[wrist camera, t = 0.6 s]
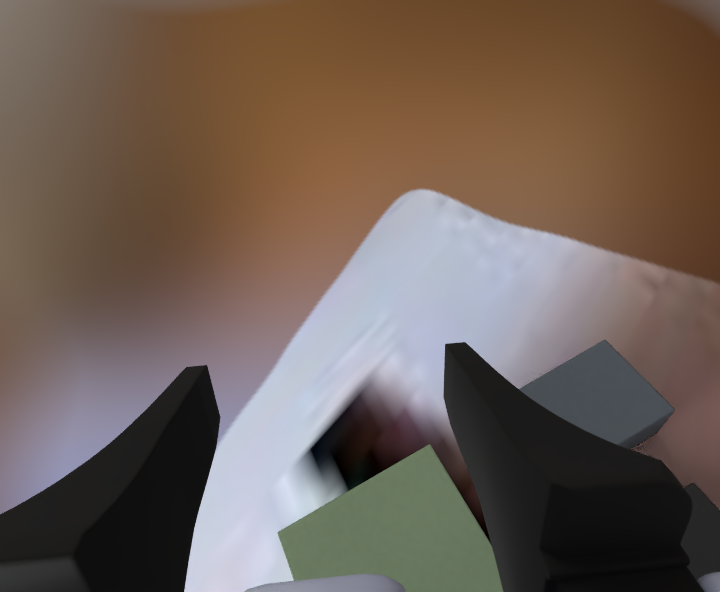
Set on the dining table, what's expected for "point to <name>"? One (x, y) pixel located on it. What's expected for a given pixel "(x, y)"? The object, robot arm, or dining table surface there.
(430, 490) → the base pad
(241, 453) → the dining table surface
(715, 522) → the black rectangular block
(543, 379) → the grey block
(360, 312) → the dining table surface
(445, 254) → the dining table surface
